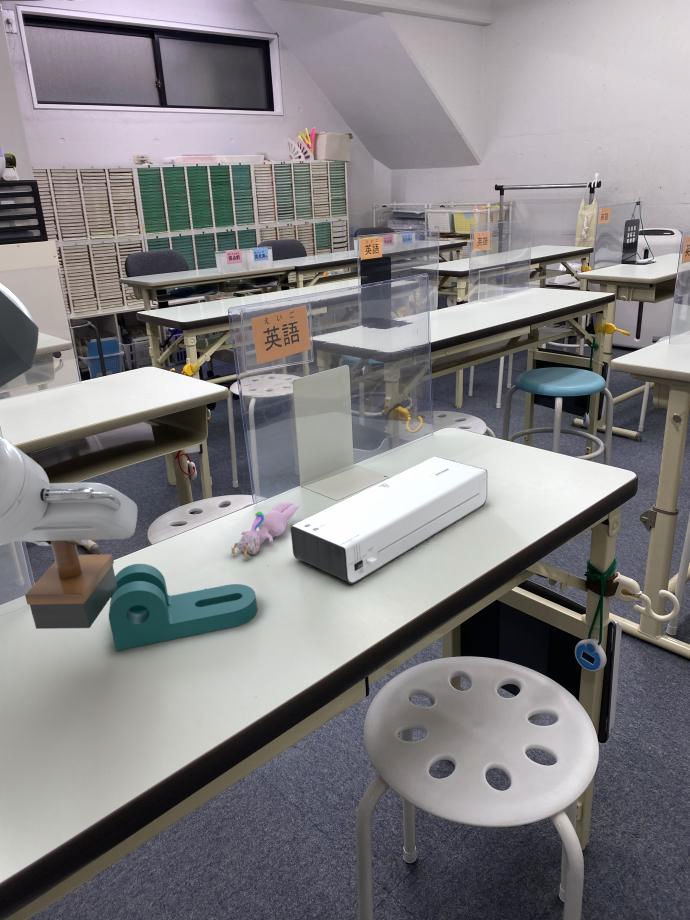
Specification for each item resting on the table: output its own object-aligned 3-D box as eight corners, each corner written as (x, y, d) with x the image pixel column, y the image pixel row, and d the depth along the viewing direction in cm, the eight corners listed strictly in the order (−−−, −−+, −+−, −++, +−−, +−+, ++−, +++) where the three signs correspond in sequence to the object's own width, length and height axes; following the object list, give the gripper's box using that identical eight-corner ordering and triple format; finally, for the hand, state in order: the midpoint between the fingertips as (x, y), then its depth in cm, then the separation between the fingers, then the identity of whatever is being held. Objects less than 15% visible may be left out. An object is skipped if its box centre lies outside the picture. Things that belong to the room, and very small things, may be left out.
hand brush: (89, 629, 73) (61, 507, 67) (33, 630, 73) (1, 508, 68) (119, 586, 80) (95, 474, 75) (68, 587, 81) (41, 475, 76)
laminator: (434, 487, 124) (434, 455, 121) (492, 505, 115) (493, 471, 113) (293, 562, 102) (289, 525, 99) (353, 591, 93) (350, 551, 91)
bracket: (116, 650, 85) (103, 596, 82) (118, 620, 91) (107, 569, 88) (260, 621, 88) (253, 568, 85) (253, 594, 94) (246, 544, 92)
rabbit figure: (257, 570, 103) (312, 516, 113) (248, 538, 100) (306, 486, 111) (226, 561, 106) (282, 509, 117) (216, 530, 103) (275, 479, 114)
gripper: (110, 458, 62) (161, 508, 75) (-102, 465, 64) (-17, 513, 76) (100, 524, 60) (155, 565, 72) (-120, 530, 61) (-30, 568, 74)
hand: (65, 538), depth 74 cm, fingers closed on hand brush, 2 cm apart
